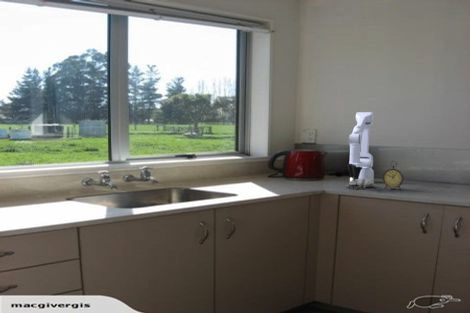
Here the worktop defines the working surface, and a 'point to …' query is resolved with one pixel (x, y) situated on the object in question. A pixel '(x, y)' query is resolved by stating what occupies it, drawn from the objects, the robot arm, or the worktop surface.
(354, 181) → the collar
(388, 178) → the alarm clock
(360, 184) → the duct socket
